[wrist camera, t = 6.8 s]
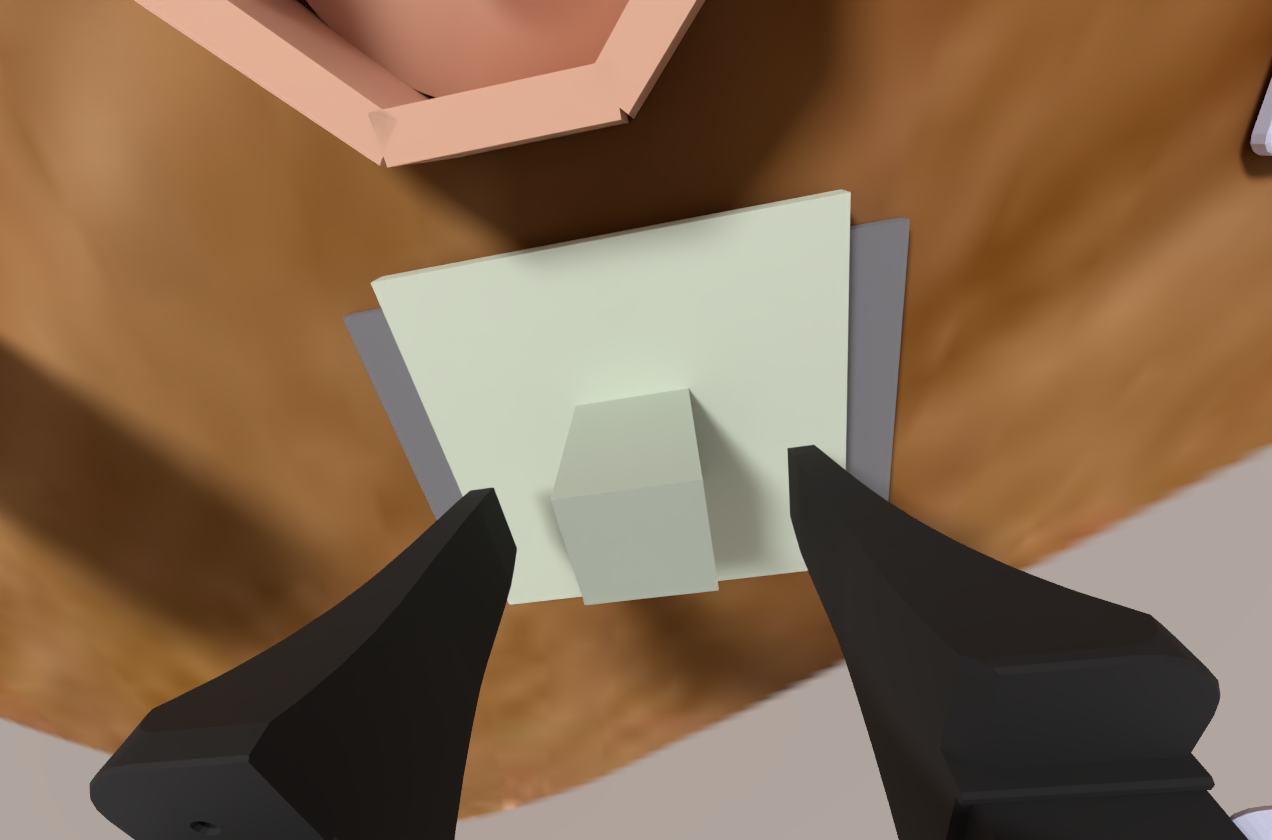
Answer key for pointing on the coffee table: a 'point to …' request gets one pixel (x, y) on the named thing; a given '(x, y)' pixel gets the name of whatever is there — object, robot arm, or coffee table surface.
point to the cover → (639, 392)
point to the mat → (868, 373)
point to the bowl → (444, 65)
